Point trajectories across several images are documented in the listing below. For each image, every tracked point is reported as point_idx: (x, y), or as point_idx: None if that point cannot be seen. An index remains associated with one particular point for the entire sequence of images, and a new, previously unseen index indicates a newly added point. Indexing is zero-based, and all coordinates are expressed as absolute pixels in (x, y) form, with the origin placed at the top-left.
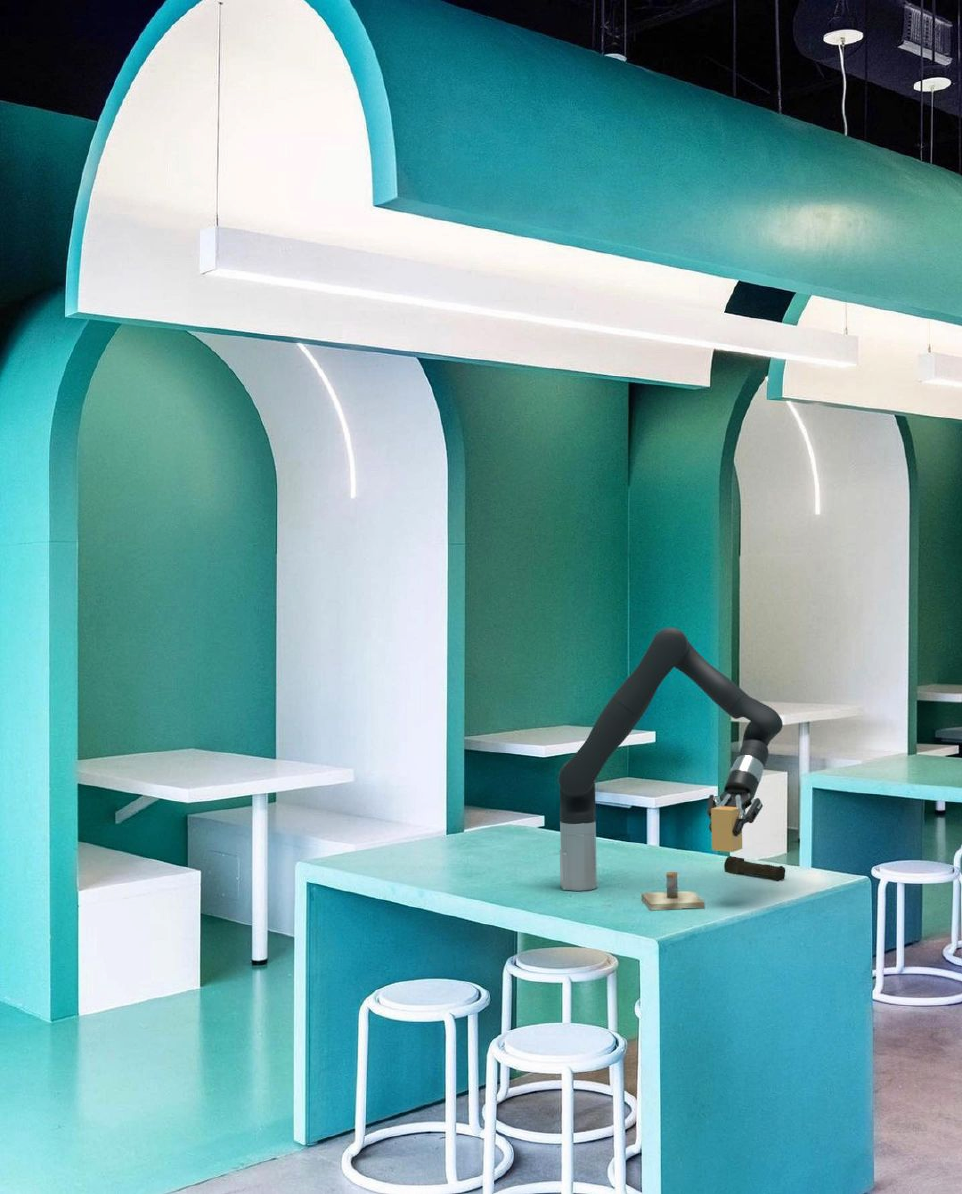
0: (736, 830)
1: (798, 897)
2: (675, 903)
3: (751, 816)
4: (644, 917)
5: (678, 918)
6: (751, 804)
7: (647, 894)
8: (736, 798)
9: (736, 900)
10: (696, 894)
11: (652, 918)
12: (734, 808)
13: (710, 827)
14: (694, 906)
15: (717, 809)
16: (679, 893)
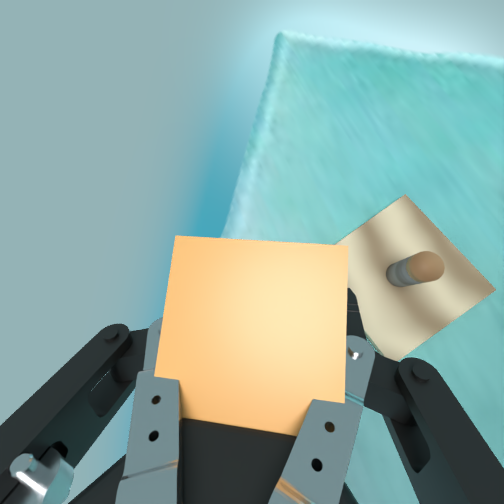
0: None
1: None
2: (362, 225)
3: (112, 393)
4: (379, 145)
5: (317, 167)
6: (54, 475)
7: (472, 281)
8: (164, 502)
9: None
10: (365, 331)
11: (361, 146)
12: (183, 338)
13: None
14: None
15: (290, 243)
16: (408, 324)
